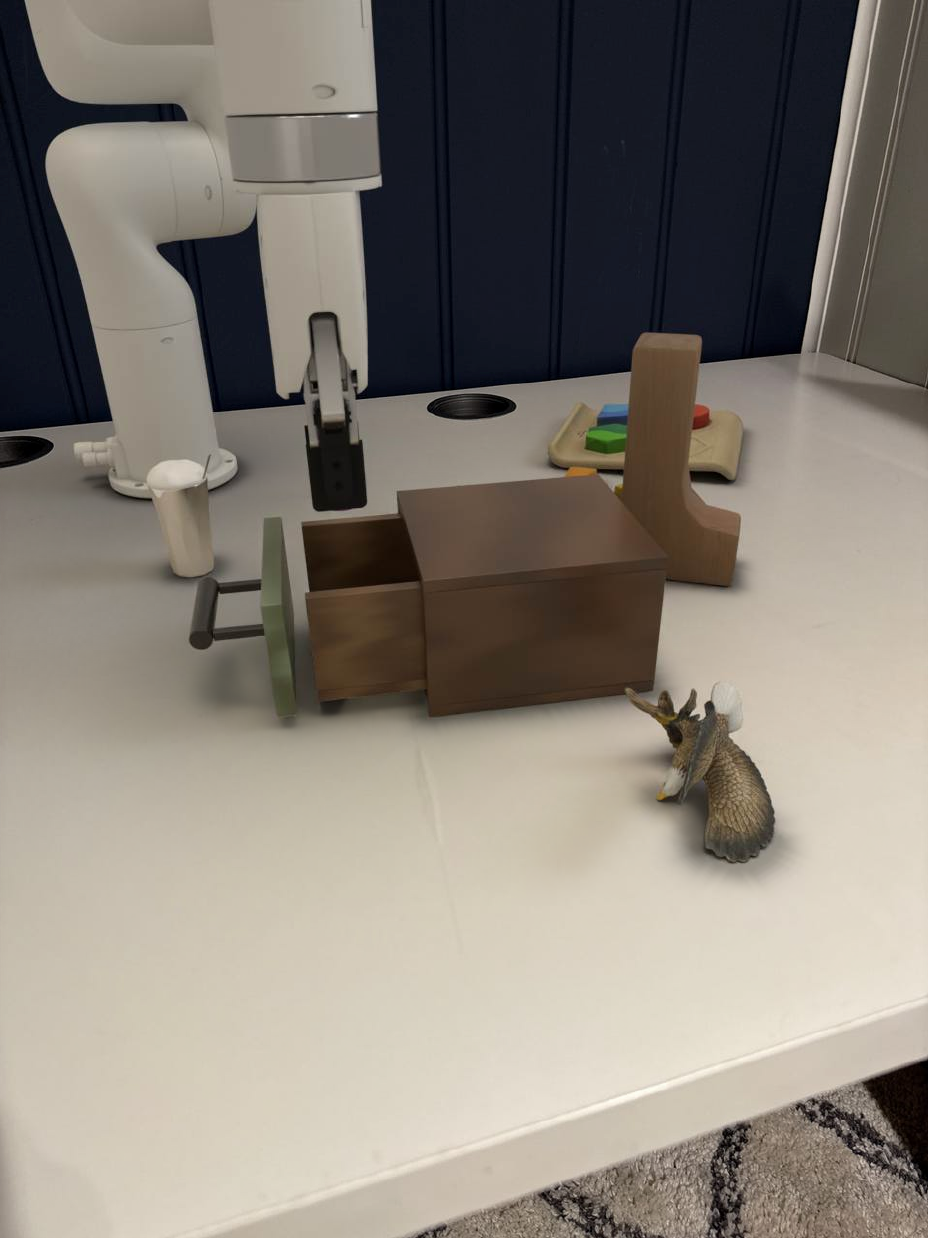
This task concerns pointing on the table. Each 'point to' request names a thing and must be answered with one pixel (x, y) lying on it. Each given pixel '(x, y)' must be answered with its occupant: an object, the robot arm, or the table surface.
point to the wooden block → (673, 463)
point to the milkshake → (184, 514)
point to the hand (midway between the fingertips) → (338, 494)
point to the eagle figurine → (715, 770)
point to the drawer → (333, 610)
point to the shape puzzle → (603, 440)
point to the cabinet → (533, 592)
